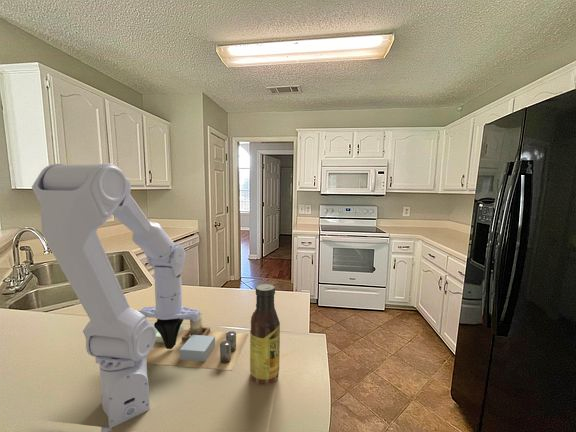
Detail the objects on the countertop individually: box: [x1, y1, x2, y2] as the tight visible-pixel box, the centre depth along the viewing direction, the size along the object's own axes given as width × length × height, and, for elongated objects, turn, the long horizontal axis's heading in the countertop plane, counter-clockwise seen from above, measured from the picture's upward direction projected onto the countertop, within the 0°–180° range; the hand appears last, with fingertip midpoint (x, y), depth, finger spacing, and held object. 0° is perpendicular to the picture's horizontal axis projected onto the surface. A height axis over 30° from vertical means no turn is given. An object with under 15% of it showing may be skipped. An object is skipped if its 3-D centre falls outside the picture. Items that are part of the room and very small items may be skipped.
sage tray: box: [155, 323, 184, 344], centre depth 67 cm, size 6×6×2 cm
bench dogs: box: [220, 330, 237, 364], centre depth 60 cm, size 2×6×4 cm, turn 174°
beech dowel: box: [189, 312, 203, 336], centre depth 67 cm, size 3×3×6 cm
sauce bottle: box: [249, 283, 281, 386], centre depth 53 cm, size 6×6×20 cm
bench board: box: [146, 326, 249, 371], centre depth 63 cm, size 25×14×2 cm, turn 84°
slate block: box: [180, 335, 215, 362], centre depth 61 cm, size 6×6×2 cm
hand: (171, 346), depth 61 cm, fingers closed
